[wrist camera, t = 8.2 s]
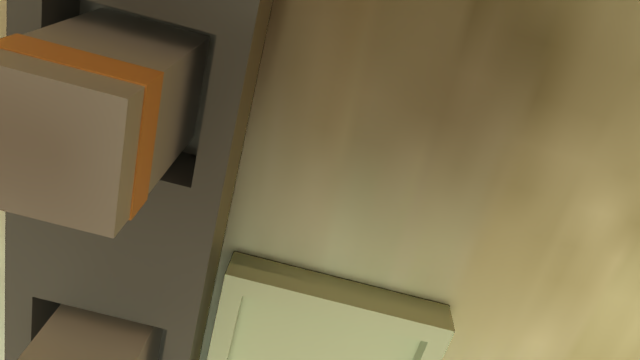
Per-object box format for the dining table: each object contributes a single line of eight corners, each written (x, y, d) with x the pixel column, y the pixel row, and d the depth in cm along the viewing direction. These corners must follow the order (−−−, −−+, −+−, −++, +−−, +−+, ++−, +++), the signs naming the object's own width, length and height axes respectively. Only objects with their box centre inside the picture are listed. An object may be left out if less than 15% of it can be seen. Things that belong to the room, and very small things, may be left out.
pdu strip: (277, -21, 18) (223, 17, 11) (188, 412, 26) (125, 586, 20) (62, -80, 18) (-130, -78, 11) (41, 377, 26) (-73, 541, 19)
